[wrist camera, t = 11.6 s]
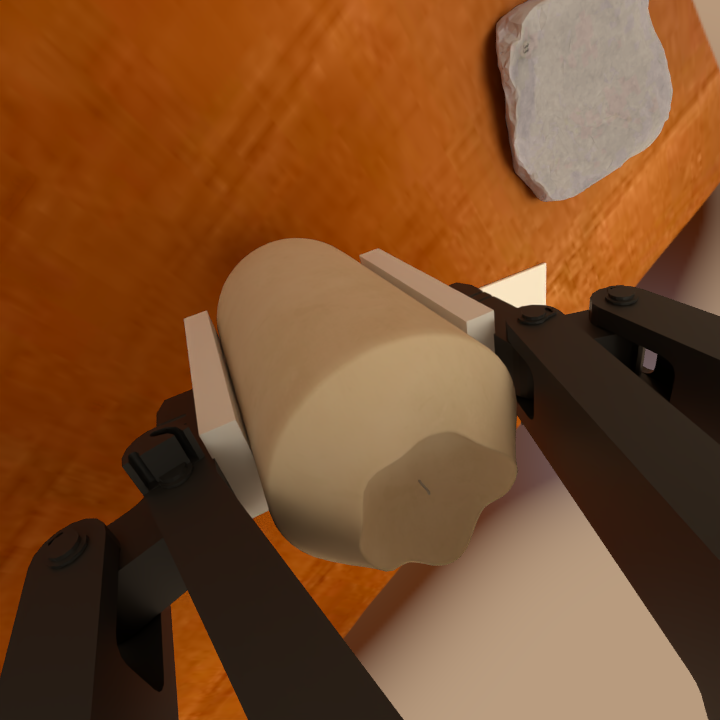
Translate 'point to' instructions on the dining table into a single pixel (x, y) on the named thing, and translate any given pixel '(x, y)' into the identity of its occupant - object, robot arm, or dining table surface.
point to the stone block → (580, 89)
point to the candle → (363, 408)
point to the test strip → (521, 287)
